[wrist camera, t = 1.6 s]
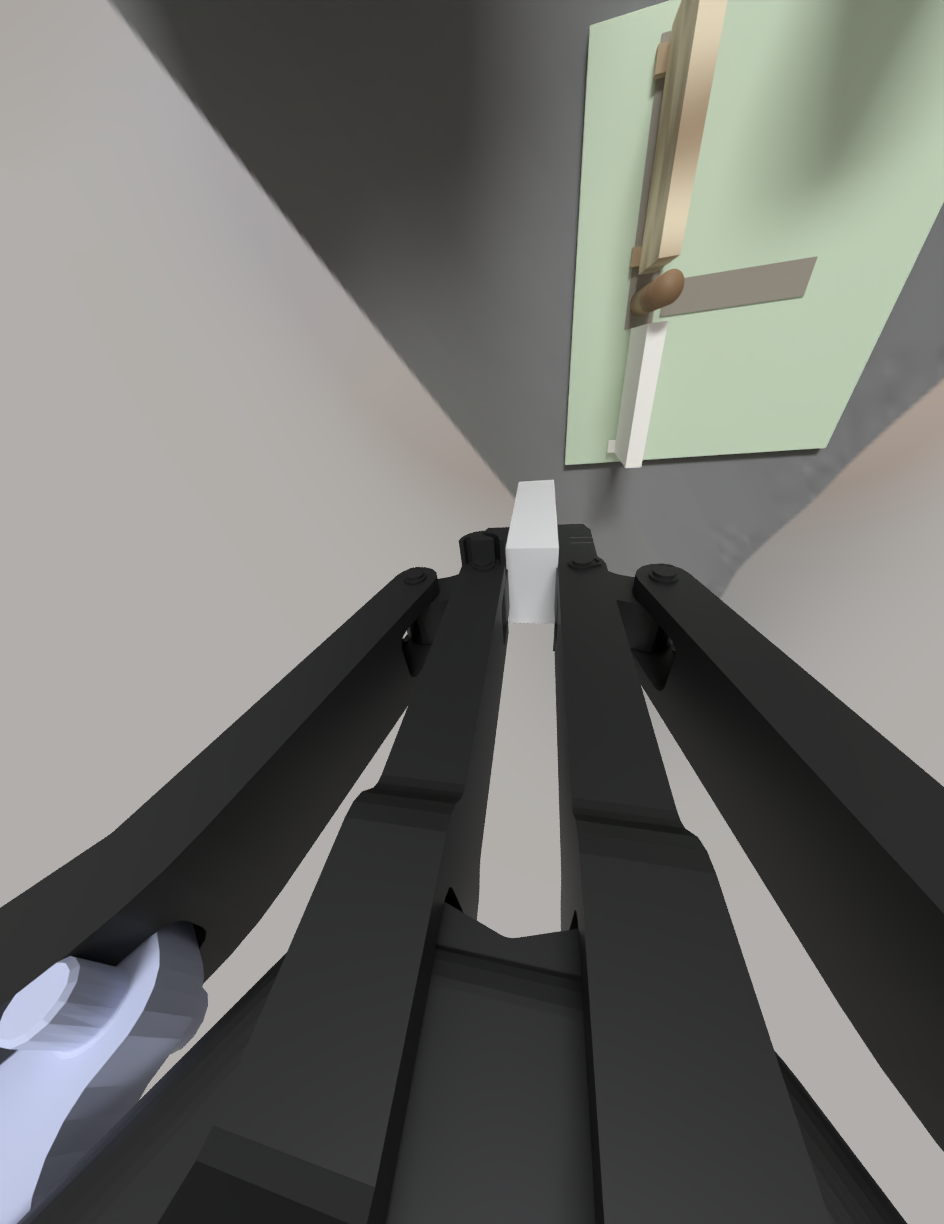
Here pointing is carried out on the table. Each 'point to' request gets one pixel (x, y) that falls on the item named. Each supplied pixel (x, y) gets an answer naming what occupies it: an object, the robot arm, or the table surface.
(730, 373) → the card
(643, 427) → the panel
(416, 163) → the table surface
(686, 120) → the fence fixed
